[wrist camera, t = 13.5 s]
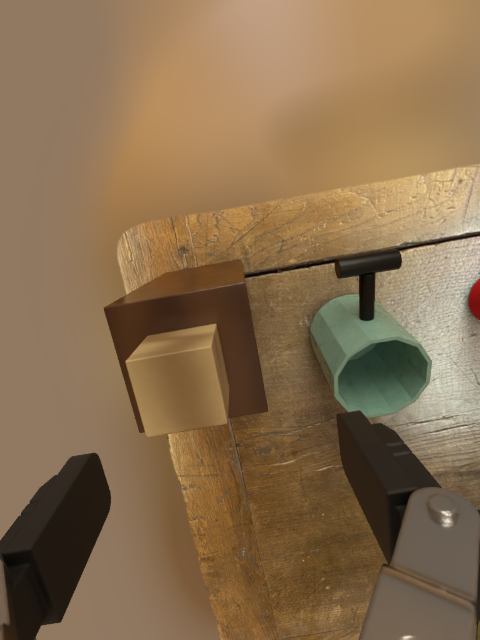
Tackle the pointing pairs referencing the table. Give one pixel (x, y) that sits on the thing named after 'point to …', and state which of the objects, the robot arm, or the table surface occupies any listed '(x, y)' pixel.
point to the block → (180, 381)
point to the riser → (193, 311)
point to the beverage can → (475, 300)
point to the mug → (368, 344)
